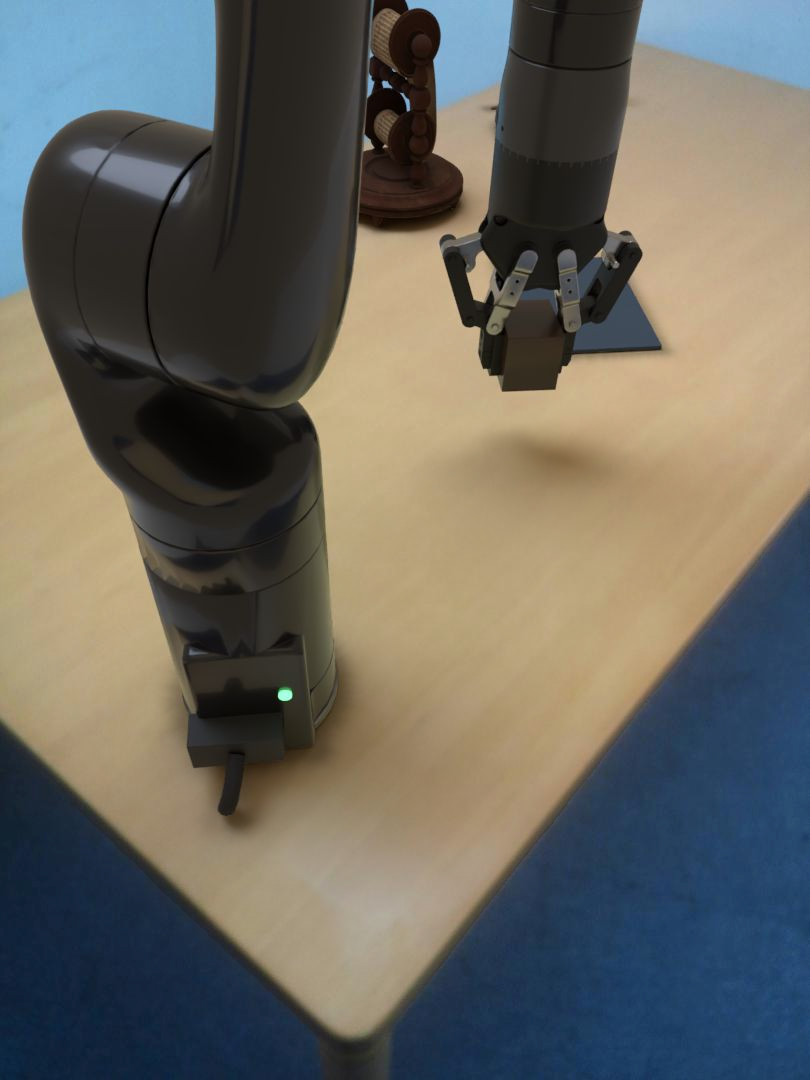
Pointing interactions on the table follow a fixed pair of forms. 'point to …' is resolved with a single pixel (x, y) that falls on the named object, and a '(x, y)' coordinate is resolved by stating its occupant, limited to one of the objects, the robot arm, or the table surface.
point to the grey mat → (607, 319)
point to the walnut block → (531, 347)
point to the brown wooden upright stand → (404, 119)
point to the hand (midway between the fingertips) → (522, 367)
